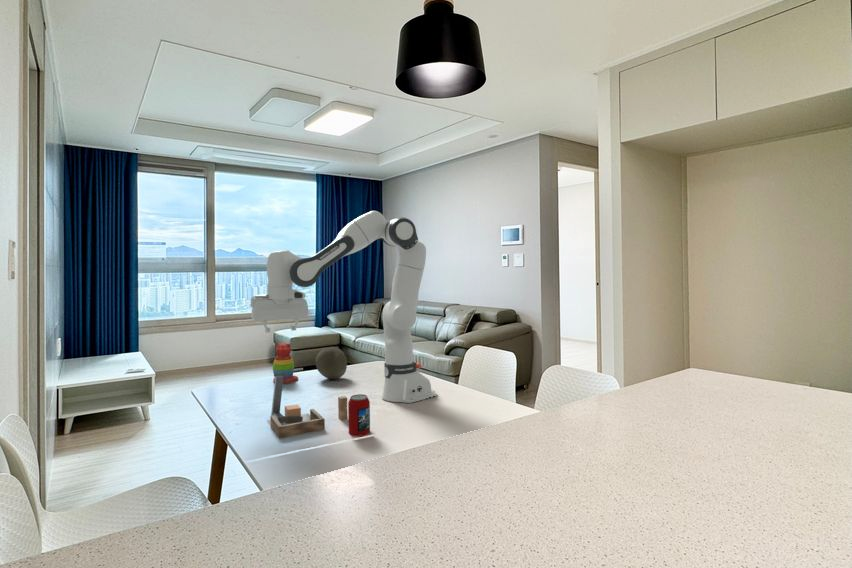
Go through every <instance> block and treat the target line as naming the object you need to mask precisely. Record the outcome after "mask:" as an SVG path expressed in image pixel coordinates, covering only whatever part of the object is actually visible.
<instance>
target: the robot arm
mask: <svg viewBox="0 0 852 568" xmlns="http://www.w3.org/2000/svg"><path fill="white" fill-rule="evenodd" d="M378 239H380V240H381V241H383V243H385V244H386V245H388V246H390V247H397V250H398V259H397V262H396V267H395V270H394V274H393V275H394V276H393V278H392V283H391V295H390V300H389V301H388V302H387V303H386V304H385V305H384V307H383V309H382V325H383V336H384V346H385V347H384V349H385V358H384V360H385V362H384V363H383V364H384V367H383V369H384V370H383V371H384V372H383V373H384V385H383V392H382V395H381V399H383V400H384V401H387V402H394V403H403V404H404V403H406V404H413V403H415V402H419V401H422V400H427V399H430V398H429V397H431V398H434V397H433V396H435V397H437V396H438V393H437V391H436V390H434V389H432V384H431V382H430V379H429V378H428V377H426V376H425V375H423V374H422V373H421V372H419V371H418V369H419V370H420V369H422V364H421V363H419V362H415V361H414V357H413V356H414V353H413V352H414V351H413V350H414V347H413V345H414V343H413V338H412V333H411V328H412V327H413V326H414V325H415V324H416V322H417V310H418V304H419V292H420V287H421V283H422V279H423V275H424V270H425V267H426V259H427V247H426V246H425V244H424V243H423V242H421V241H419V238H418V234H417V228H416V226H415V224H414V222H413V221H412V220H411V219H409V218H407V217H396V218H392V219H390V220H389V219H386V217H385V216H384V215H383V214H382V213H381V212H379V211H377V210H370V211H369V212H366V213H363V214H362V215H359V216H358V217H357V218H354V219H353V220H352V221H350V222H349V223H347V224H346V225H345V226H344V227H343V228H342V229H341V230H340V231H339V232H338V234H337V236H336V237H335V239H334V240H333V241H332V242H330V244H329V245H327V246H326V247H324V248H323V249H321V250H320V251H318V252H317V253H315V254H314V255H312V256H310V257H305V258H304V257H302V256H299V255H296V254H294V253H293V252H291V251H290V250H287V249H284V250H277V251H273V252H271V253H269V255H268V257H267V262H266V275H267V280H268V281H267V286H266V287H267V289H266V290H267V294H261V295H260V294H256V295H254V296H253V297H251V299H250V306H251V313H250V314H251V315H250V316H251V319H252V320H253V321H254V322H260V321H261V324H262V326H263V327H264V332H265V333H267V334H268V333H271V327H269V326H267V324H268V321H273V320H274V321H275V320H277V321H278V320H288V319H291V320H292V319H293V321H294V323H293V325H291V326H290V327H291V329H290V330H291V331H292V332H293V331H297V326H298V324H299V322H300V319H305V318H308V316H309V305H308V302H307V299H305V298H306V293H305V292H302V291H299V290H296V289H293V284H294V285H296V286H298V287H300V288H309V287H311V286H313V285H314V284H316V282H318V280H319V279H320V277H321V274H322V273H323V272H325V270H326V269H328V268H329V267H331V266H332V265H334V264H335V263H336V262H337V261H339V260H340V259H342V258H343V257H346V256H348V255H351V254H355V253H356V252H360V251H361V250H363V249H364V248H367V247H368V246H369V245H370V244H372V243H374V241H376V240H378ZM426 398H427V399H426Z"/></svg>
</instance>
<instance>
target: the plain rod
mask: <svg viewBox="0 0 852 568" xmlns="http://www.w3.org/2000/svg"><path fill="white" fill-rule="evenodd" d="M337 400H338V401H337V403H338V404H337V408H338V413H337V414H338V419H339V420H341V421H344V420H348V397H347V396H345V395H343V396H338V397H337Z"/></svg>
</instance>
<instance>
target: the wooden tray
mask: <svg viewBox="0 0 852 568" xmlns="http://www.w3.org/2000/svg"><path fill="white" fill-rule="evenodd" d="M301 416H302V417H303V420H302V422H297V423H280V422H279V421H278V419H277V418H276V417H275V416H274V415H273V416H271V415H270V416H269V417H270V419H268V420H266V422H267V424H268V425H269V426H270V428H271V429H272V431H273V432H274V433H275V435H276V436H277V438H278V439H284V438H290V437H294V436H299V435H305V434H309V433H314V432H319V431H324V430H325V429H326V426H325V421H326V420H325V418H324V417H323V416H322V415H321V414H320V413H319V412H318V411H317V410H316V409H315V408H311V409H310V410H309V413H304V414H302V413H301Z"/></svg>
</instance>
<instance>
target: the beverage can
mask: <svg viewBox="0 0 852 568" xmlns="http://www.w3.org/2000/svg"><path fill="white" fill-rule="evenodd" d="M370 403H371V402H370V399H369V398H368V395H367V394H362V393H361V394H353V395H351V396H350V398H349V399H348V401H347V416H348V419H347V420H348V433H349V435H351V436H356V437H359V438H361V437H363V436H366V435H368V434H369V433H370V432H371V407H370V406H371V404H370Z"/></svg>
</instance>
